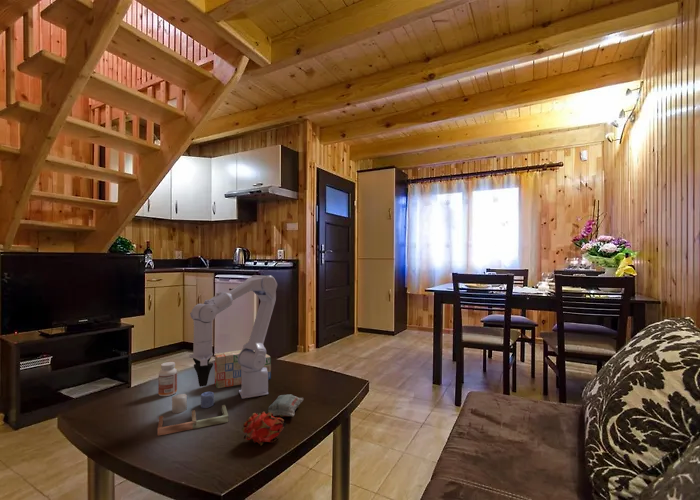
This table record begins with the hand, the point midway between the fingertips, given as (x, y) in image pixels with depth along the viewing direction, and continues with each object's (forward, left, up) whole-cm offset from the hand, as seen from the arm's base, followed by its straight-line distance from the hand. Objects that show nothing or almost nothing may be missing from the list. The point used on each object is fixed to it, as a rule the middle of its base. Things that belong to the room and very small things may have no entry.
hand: (202, 382), depth 114 cm
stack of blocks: (-17, -23, -10) cm, 30 cm away
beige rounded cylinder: (+7, -4, -10) cm, 12 cm away
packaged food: (-25, +13, -10) cm, 30 cm away
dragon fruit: (-14, +28, -10) cm, 33 cm away
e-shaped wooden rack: (+3, +7, -10) cm, 12 cm away
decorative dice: (-2, -4, -10) cm, 11 cm away
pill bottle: (+11, -22, -10) cm, 27 cm away
